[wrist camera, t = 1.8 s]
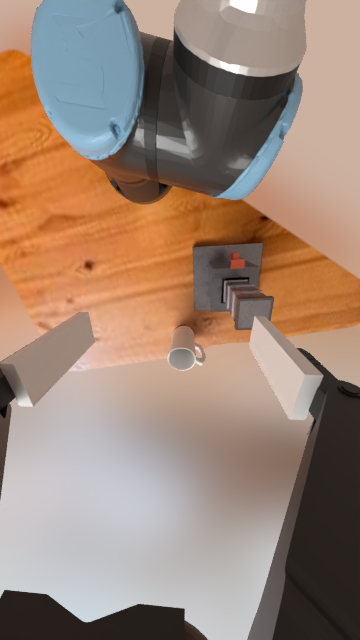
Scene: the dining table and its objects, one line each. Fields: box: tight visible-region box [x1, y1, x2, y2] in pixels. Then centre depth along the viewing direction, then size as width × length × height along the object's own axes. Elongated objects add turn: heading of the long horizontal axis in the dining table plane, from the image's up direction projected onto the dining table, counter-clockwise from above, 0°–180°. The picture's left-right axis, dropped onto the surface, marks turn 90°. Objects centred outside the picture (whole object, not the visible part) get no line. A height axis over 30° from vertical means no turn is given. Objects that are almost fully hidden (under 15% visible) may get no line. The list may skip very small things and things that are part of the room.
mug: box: [168, 326, 206, 370], centre depth 48 cm, size 10×7×12 cm, turn 66°
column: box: [221, 277, 274, 330], centre depth 34 cm, size 5×5×22 cm
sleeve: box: [193, 243, 263, 312], centre depth 40 cm, size 16×16×12 cm
